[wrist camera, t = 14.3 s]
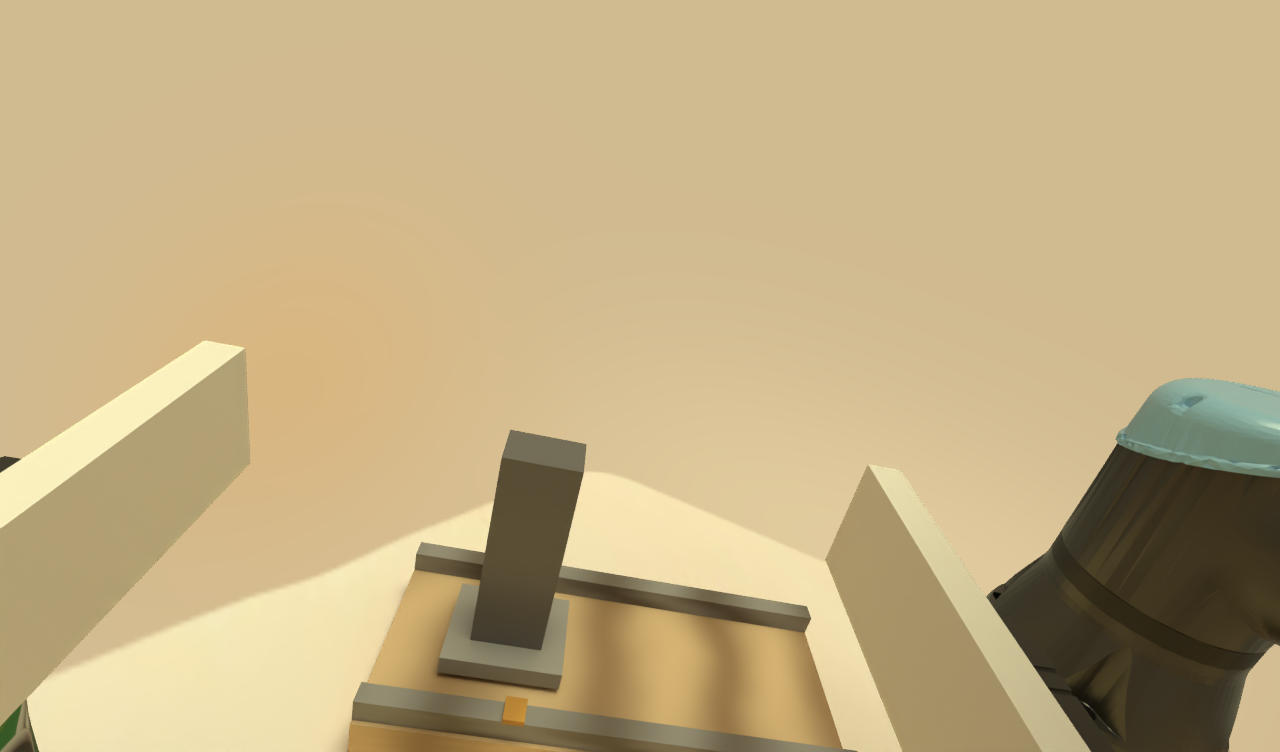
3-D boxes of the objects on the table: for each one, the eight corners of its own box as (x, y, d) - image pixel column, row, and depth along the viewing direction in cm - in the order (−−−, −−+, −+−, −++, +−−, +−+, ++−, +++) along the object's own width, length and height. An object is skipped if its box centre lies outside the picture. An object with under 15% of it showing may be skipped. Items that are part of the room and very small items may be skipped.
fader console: (787, 645, 42) (807, 600, 41) (837, 821, 32) (867, 770, 31) (416, 587, 39) (422, 536, 38) (347, 760, 29) (351, 701, 28)
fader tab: (566, 613, 37) (611, 435, 32) (558, 689, 32) (609, 495, 27) (460, 596, 36) (489, 411, 31) (436, 672, 31) (467, 468, 27)
